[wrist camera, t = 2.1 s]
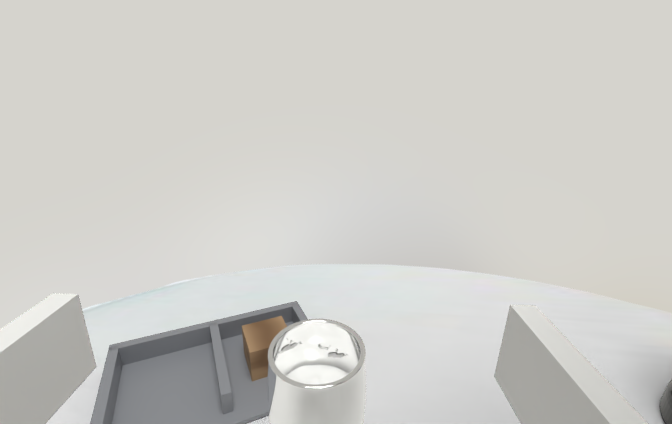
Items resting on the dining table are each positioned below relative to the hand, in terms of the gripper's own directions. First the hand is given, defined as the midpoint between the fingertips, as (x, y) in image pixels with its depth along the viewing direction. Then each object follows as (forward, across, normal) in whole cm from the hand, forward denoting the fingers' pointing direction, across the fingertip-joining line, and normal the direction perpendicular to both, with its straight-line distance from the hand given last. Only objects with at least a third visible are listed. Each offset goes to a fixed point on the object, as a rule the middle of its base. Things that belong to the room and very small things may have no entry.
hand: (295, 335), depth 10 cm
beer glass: (+10, 0, -24) cm, 26 cm away
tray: (+22, -12, -24) cm, 35 cm away
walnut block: (+24, -6, -23) cm, 34 cm away
